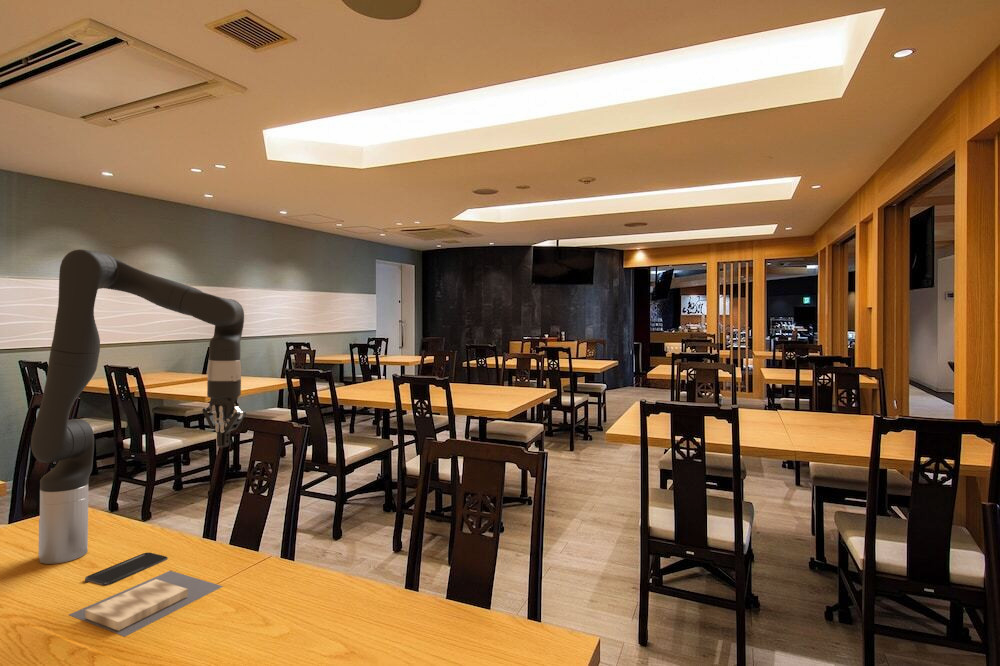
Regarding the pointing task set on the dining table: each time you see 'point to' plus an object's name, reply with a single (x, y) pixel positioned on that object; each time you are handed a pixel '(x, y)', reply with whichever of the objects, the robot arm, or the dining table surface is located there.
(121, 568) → the phone
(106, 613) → the placard
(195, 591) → the mat
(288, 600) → the dining table surface
